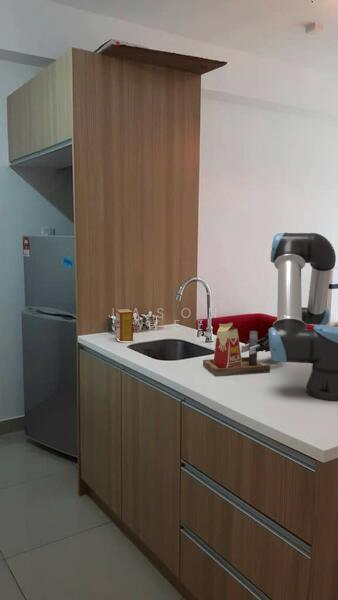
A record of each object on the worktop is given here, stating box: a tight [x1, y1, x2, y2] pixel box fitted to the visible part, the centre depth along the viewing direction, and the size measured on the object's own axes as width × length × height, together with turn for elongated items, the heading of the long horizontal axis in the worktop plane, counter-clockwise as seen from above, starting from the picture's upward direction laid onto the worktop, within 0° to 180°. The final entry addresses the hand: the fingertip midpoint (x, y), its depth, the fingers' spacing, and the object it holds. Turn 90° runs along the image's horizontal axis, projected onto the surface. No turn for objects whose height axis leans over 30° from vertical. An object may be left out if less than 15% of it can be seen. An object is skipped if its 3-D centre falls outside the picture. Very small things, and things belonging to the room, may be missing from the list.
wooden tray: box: [202, 330, 271, 377], centre depth 196 cm, size 15×23×15 cm, turn 105°
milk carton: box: [213, 322, 242, 368], centre depth 194 cm, size 9×9×20 cm
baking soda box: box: [115, 308, 134, 342], centre depth 247 cm, size 10×6×16 cm
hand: (246, 350), depth 194 cm, fingers closed on wooden tray, 3 cm apart
